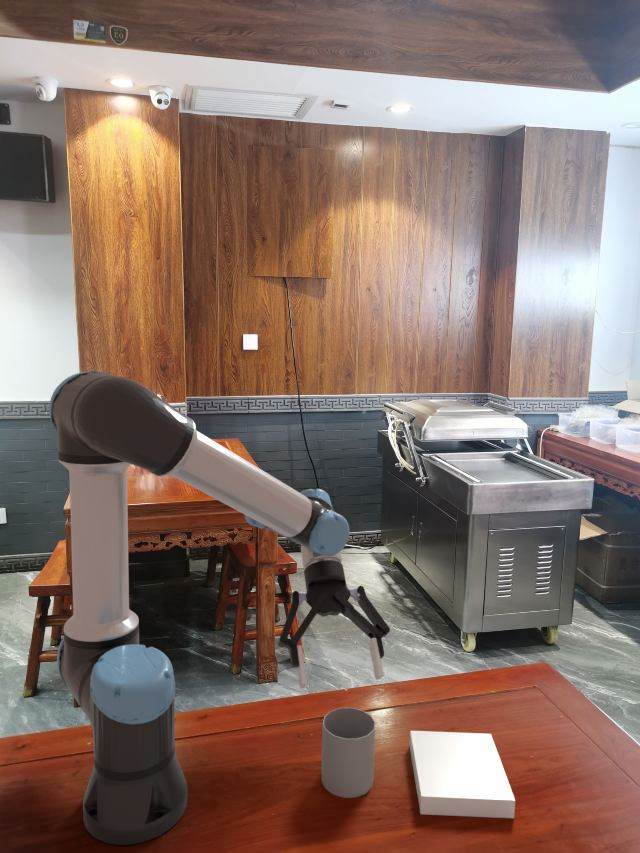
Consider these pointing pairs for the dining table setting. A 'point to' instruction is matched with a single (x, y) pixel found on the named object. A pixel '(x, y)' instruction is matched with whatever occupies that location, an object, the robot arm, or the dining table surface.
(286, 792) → the dining table surface
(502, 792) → the raised board
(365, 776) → the cup
